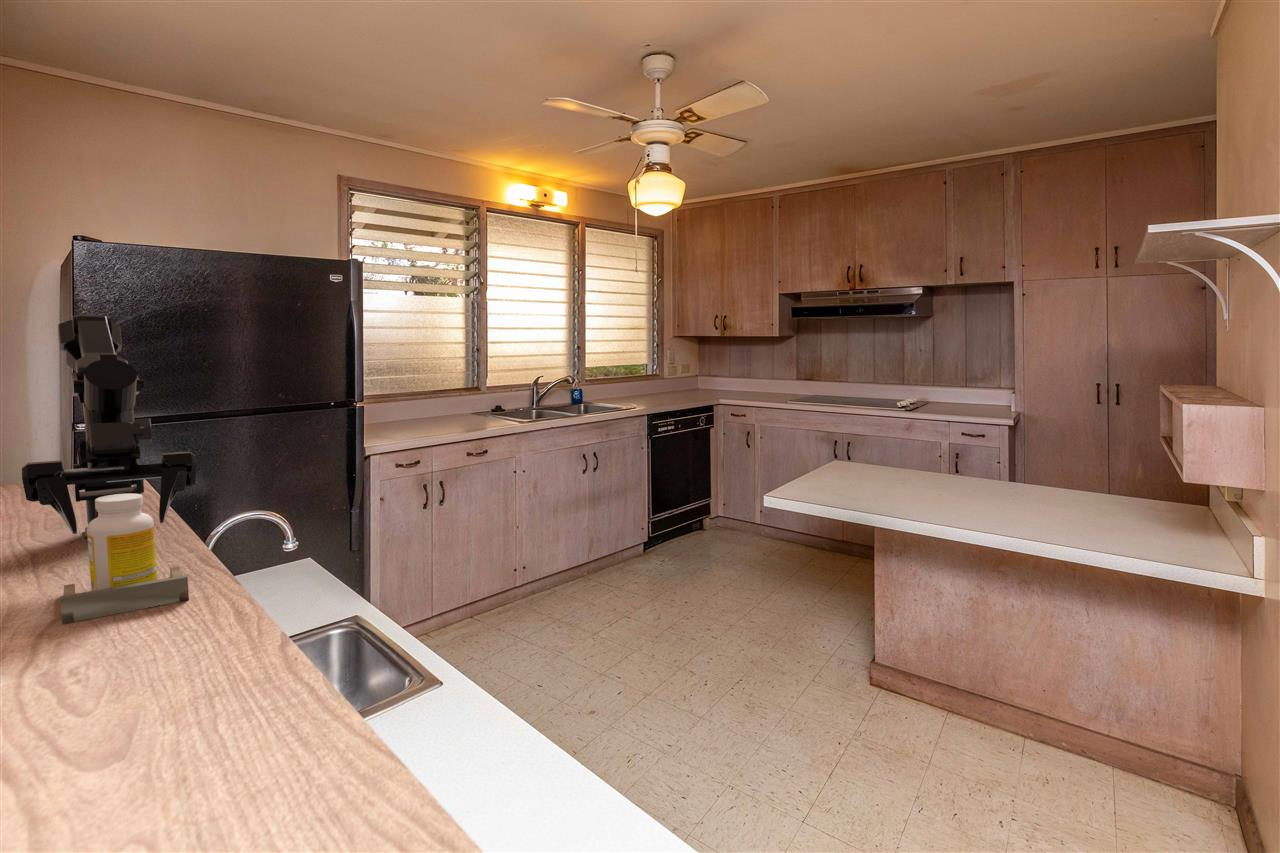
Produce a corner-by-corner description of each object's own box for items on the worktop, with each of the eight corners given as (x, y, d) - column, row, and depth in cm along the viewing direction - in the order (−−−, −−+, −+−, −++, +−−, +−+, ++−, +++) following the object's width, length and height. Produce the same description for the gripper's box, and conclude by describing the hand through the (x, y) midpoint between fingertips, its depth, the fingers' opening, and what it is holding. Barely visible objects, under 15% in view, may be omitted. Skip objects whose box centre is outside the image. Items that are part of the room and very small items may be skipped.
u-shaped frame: (65, 594, 83) (63, 571, 83) (179, 574, 91) (178, 554, 91) (62, 624, 75) (60, 599, 74) (188, 599, 82) (187, 577, 82)
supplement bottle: (171, 587, 86) (165, 492, 85) (127, 607, 80) (120, 504, 78) (124, 584, 87) (118, 490, 86) (77, 603, 80) (69, 501, 79)
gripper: (16, 401, 84) (17, 504, 77) (191, 397, 96) (206, 485, 89) (25, 452, 91) (27, 550, 84) (188, 442, 103) (201, 527, 96)
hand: (119, 526), depth 88 cm, fingers open, 9 cm apart
